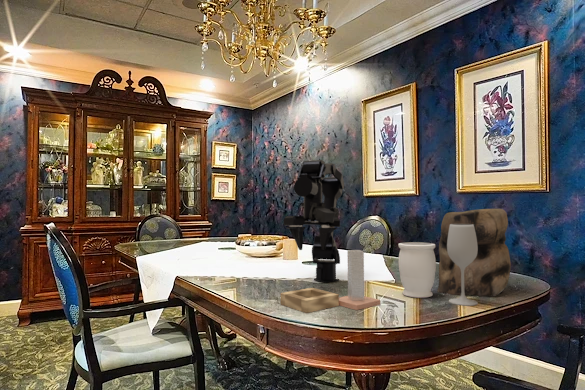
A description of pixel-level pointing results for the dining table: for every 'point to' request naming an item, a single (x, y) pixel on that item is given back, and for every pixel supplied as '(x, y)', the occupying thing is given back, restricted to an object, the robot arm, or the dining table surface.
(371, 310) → the dining table surface
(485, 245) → the brown mottled lumpy block
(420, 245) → the jar
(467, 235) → the wineglass
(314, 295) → the brown square tray
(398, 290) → the dining table surface
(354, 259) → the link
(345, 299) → the coaster
